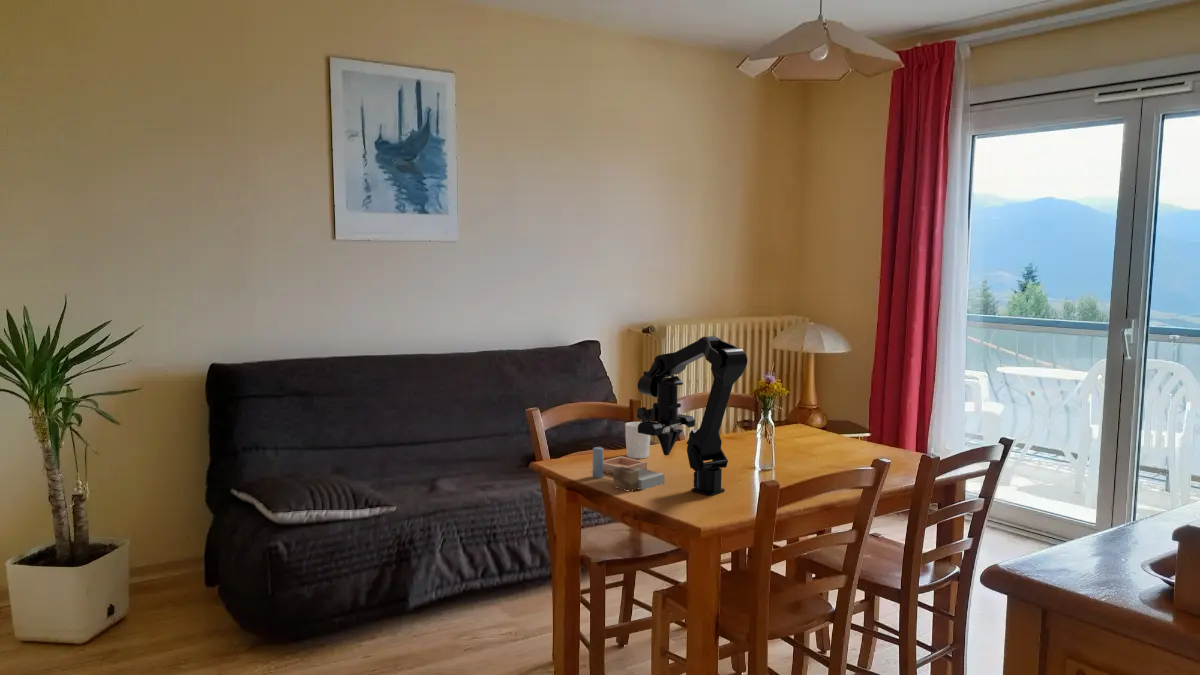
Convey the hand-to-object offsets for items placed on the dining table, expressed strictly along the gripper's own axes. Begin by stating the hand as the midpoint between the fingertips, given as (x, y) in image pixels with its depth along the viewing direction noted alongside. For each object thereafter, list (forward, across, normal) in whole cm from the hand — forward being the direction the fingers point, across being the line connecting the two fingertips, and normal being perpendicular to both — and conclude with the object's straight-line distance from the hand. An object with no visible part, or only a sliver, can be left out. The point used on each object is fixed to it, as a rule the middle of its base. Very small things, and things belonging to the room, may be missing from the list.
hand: (666, 455), depth 227 cm
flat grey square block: (+6, +11, 0) cm, 12 cm away
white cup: (+6, -12, -21) cm, 25 cm away
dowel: (+6, +14, -13) cm, 20 cm away
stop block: (+6, +17, 0) cm, 18 cm away
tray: (+6, +4, -13) cm, 15 cm away
